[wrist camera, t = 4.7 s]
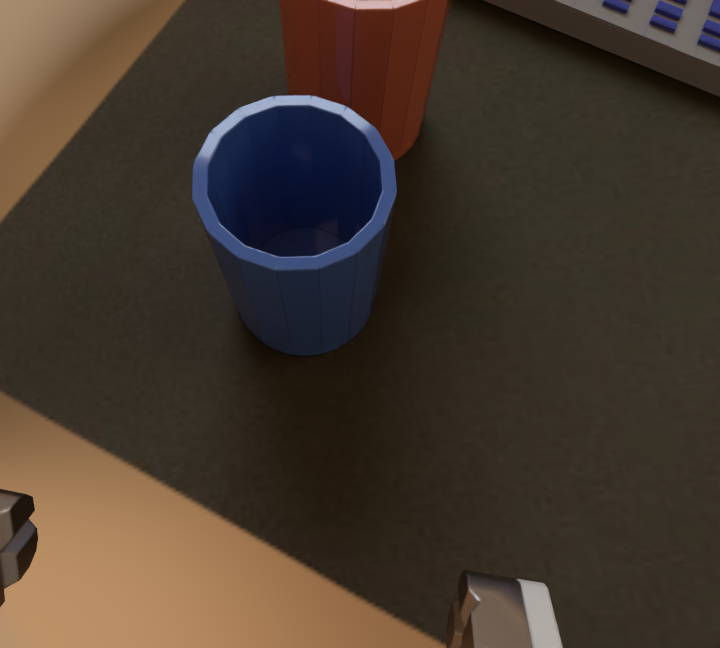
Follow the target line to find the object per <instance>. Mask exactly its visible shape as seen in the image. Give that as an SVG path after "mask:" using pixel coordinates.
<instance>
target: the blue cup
mask: <svg viewBox="0 0 720 648" xmlns="http://www.w3.org/2000/svg"><path fill="white" fill-rule="evenodd" d="M396 196H397V186H396V174H395V163H394V159H393V156H392V155H391V153H390V151H389V150H388V148H387V146H386V144H385V143H384V141H383V139H382V137H381V136H380V134H379V132H378V131H377V129H376V128H375V127H374V126H373V125H371V124H370V123H369V122H368V121H366V120H365V119H364V118H362V117H361V116H360V115H358V114H357V113H356V112H355V111H353V110H352V109H351V108H349V107H347V106H345V105H342V104H339V103H335V102H332V101H329V100H326V99H323V98H320V97H317V96H314V95H313V96H311V95H276V96H271V97H268V98H265V99H262V100H259V101H257V102H254V103H251V104H248V105H245V106H242V107H240V108H239V109H236V110H235V111H234V112H233V113H232V114H230V115H229V116H228V117H227V118H226V119H224V120H223V121H222V122H221V123H219V124H218V125H217V126H216V127H215V128H213V129H212V130H211V132H210V133H209V134H208V136H207V138H206V140H205V142H204V144H203V145H202V147H201V149H200V151H199V153H198V155H197V157H196V159H195V161H194V164H193V180H192V199H193V203H194V205H195V208H196V210H197V213H198V215H199V217H200V220H201V222H202V225H203V227H204V229H205V232H206V234H207V237H208V239H209V242H210V244H211V246H212V249H213V251H214V254H215V256H216V258H217V261H218V263H219V266H220V268H221V271H222V273H223V275H224V278H225V280H226V283H227V285H228V287H229V290H230V292H231V295H232V297H233V300H234V302H235V304H236V306H237V308H238V311H239V313H240V316H241V318H242V320H243V322H244V323H245V325H246V326H247V328H248V329H249V330H250V332H251V333H252V334H253V335H254V336H255V337H256V338H257V339H259V340H260V341H261V342H263V343H264V344H266V345H267V346H269V347H271V348H273V349H275V350H277V351H280V352H283V353H287V354H291V355H298V356H310V355H318V354H323V353H327V352H329V351H332V350H335V349H337V348H339V347H341V346H343V345H344V344H346V343H347V342H349V341H350V340H351V339H352V338H353V337H355V336H356V335H357V334H358V333H359V331H360V330H361V329H362V328H363V327H364V325H365V323H366V322H367V320H368V318H369V316H370V314H371V312H372V308H373V305H374V300H375V298H376V295H377V291H378V286H379V281H380V276H381V271H382V266H383V261H384V256H385V251H386V246H387V241H388V236H389V231H390V226H391V221H392V216H393V211H394V206H395V201H396Z"/></svg>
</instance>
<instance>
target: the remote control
mask: <svg viewBox="0 0 720 648" xmlns="http://www.w3.org/2000/svg"><path fill="white" fill-rule="evenodd" d="M483 1H486V2H488V3H491V4H493V5H496V6H498V7H501V8H503V9H506V10H508V11H510V12H513V13H515V14H518V15H520V16H523V17H525V18H528V19H530V20H532V21H535V22H537V23H540V24H542V25H545V26H547V27H550V28H552V29H554V30H557V31H559V32H562V33H564V34H567V35H569V36H572V37H574V38H577V39H579V40H581V41H584V42H586V43H589V44H591V45H594V46H596V47H599V48H601V49H603V50H606V51H608V52H611V53H613V54H616V55H618V56H621V57H623V58H625V59H628V60H630V61H633V62H635V63H638V64H640V65H643V66H645V67H647V68H650V69H652V70H655V71H657V72H660V73H662V74H665V75H667V76H670V77H672V78H674V79H677V80H679V81H682V82H684V83H687V84H689V85H692V86H694V87H696V88H699V89H701V90H704V91H706V92H709V93H711V94H714V95H716V96H718V97H720V0H483Z"/></svg>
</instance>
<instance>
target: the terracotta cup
mask: <svg viewBox="0 0 720 648" xmlns="http://www.w3.org/2000/svg"><path fill="white" fill-rule="evenodd" d="M450 4H451V0H280V11H281V22H282V32H283V43H284V54H285V64H286V75H287V86H288V95H311V96H313V95H314V96H317V97H320V98H323V99H326V100H329V101H332V102H335V103H339V104H342V105H345V106H347V107H349V108H351V109H352V110H353V111H355V112H356V113H357V114H358V115H360V116H361V117H362V118H364V119H365V120H366V121H368V122H369V123H370V124H371V125H373V126H374V127H375V128H376V129H377V131H378V132H379V134H380V136H381V137H382V139H383V141H384V143H385V144H386V146H387V148H388V150H389V151H390V153H391V155H392V156H393V159H394V161H395V160H396V159H398V158H400V157H401V156H402V155H403V154H405V153H406V152H407V151H408V150H409V149H410V148H411V147H412V145H413V144H414V142H415V141H416V139H417V137H418V135H419V133H420V129H421V126H422V121H423V118H424V116H425V113H426V108H427V104H428V100H429V95H430V91H431V86H432V82H433V78H434V73H435V69H436V65H437V60H438V56H439V52H440V47H441V43H442V38H443V34H444V30H445V25H446V21H447V17H448V12H449V8H450Z"/></svg>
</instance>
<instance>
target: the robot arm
mask: <svg viewBox="0 0 720 648" xmlns="http://www.w3.org/2000/svg"><path fill="white" fill-rule="evenodd" d="M34 510H35V509H34V503H33V497H31V496H29V495H27V494H22V493H17V492H13V491H7V490H2V489H0V607H1V605H2V604H3V603H4V601H5V596H4V589H5V588H6V587H8V586H10V585H12V584H14V583H15V582H17V581H19V580H20V579H21V578H22V576H23V575H24V573H25V572H26V571H27V569H28V568H29V566H30V564H31V562H32V559H33V557H34V554H35V552H36V548H37V541H38V534H37V528H36V527H35V526H34V524H33V523H32V522H31V521H30V520H29V519H28V518H29V517H30V516H31V515H32V513H33V512H34ZM458 596H459V597H458V598H456V599H455V600H453V601H452V604H451V608H450V612H449V616H448V623H447V635H446V646H447V648H563V646H562V642H561V638H560V634H559V630H558V627H557V623H556V619H555V615H554V611H553V607H552V603H551V599H550V595H549V591H548V588H547V587H546V585H545V584H544V583H539V582H533V581H527V580H521V579H515V578H510V577H504V576H498V575H491V574H485V573H479V572H473V571H467V570H464V571H463V572H462V574H461V576H460V579H459V582H458Z"/></svg>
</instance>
